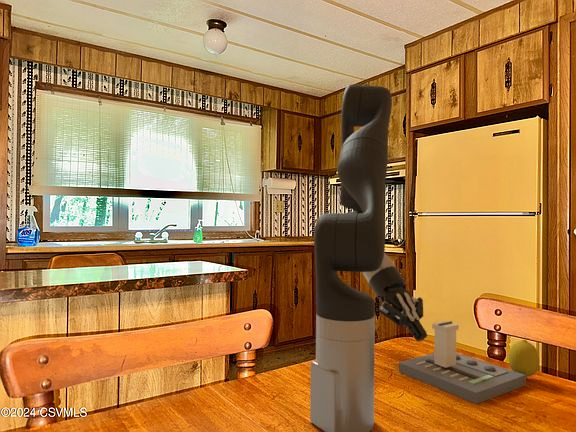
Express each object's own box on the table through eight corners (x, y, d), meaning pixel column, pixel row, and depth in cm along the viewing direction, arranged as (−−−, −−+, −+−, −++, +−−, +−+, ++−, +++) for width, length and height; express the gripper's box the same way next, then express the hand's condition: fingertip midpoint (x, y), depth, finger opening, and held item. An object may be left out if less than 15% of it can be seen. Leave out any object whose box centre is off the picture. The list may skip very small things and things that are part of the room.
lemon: (545, 384, 83) (546, 344, 83) (517, 384, 83) (519, 343, 83) (527, 373, 89) (529, 335, 89) (502, 373, 88) (503, 335, 88)
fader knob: (446, 368, 84) (446, 325, 84) (432, 363, 87) (432, 322, 87) (458, 364, 86) (458, 323, 86) (444, 360, 89) (444, 319, 89)
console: (476, 404, 74) (476, 389, 74) (398, 371, 89) (398, 359, 89) (525, 385, 83) (525, 371, 83) (447, 358, 98) (447, 347, 98)
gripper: (369, 267, 96) (411, 334, 86) (409, 263, 103) (452, 325, 93) (353, 286, 100) (391, 352, 90) (393, 282, 108) (432, 343, 97)
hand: (422, 338), depth 91 cm, fingers closed
